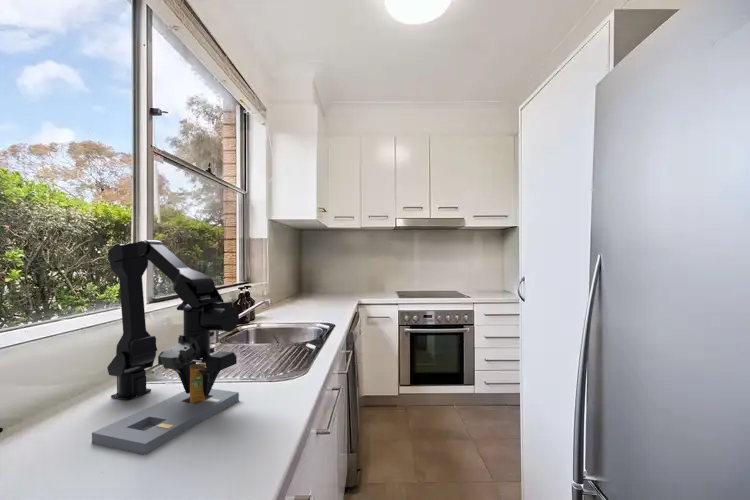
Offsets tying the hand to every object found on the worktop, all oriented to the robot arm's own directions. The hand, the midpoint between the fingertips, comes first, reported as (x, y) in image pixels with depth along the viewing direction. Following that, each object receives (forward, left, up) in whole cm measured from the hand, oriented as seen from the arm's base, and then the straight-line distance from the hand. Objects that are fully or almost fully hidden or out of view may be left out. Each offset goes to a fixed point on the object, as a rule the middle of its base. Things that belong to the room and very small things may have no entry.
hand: (197, 394), depth 84 cm
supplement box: (0, 0, -3) cm, 3 cm away
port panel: (0, -7, -3) cm, 7 cm away
